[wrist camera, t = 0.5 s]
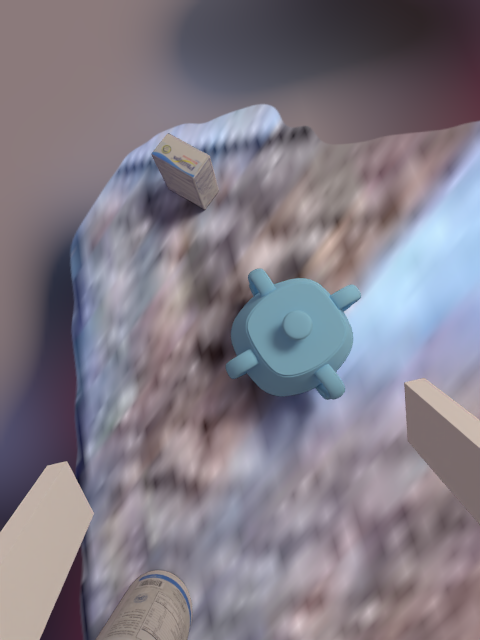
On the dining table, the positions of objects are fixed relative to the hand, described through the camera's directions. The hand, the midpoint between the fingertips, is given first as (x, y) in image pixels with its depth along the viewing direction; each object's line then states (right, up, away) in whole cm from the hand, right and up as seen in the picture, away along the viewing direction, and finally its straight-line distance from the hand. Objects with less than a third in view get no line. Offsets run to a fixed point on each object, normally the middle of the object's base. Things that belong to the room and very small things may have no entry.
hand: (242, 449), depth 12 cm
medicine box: (-8, +27, +41) cm, 50 cm away
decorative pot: (+7, +2, +34) cm, 35 cm away
